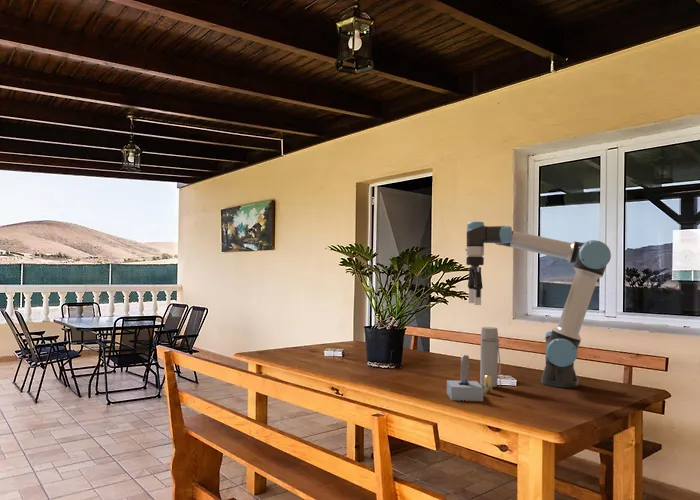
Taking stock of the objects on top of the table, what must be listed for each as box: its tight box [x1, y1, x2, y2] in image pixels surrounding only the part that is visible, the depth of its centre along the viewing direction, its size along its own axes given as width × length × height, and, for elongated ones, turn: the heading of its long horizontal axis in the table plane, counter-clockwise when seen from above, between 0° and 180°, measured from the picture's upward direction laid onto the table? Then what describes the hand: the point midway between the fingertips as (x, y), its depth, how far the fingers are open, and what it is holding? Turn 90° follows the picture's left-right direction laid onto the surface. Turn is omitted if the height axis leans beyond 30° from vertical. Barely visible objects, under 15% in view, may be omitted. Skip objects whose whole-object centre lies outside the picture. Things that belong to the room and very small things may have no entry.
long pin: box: [460, 354, 470, 385], centre depth 203 cm, size 3×3×16 cm
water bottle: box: [479, 326, 502, 389], centre depth 224 cm, size 9×8×25 cm
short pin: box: [483, 375, 493, 395], centre depth 211 cm, size 3×3×7 cm
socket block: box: [446, 379, 484, 402], centre depth 203 cm, size 12×12×5 cm
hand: (474, 304), depth 231 cm, fingers open, 13 cm apart
